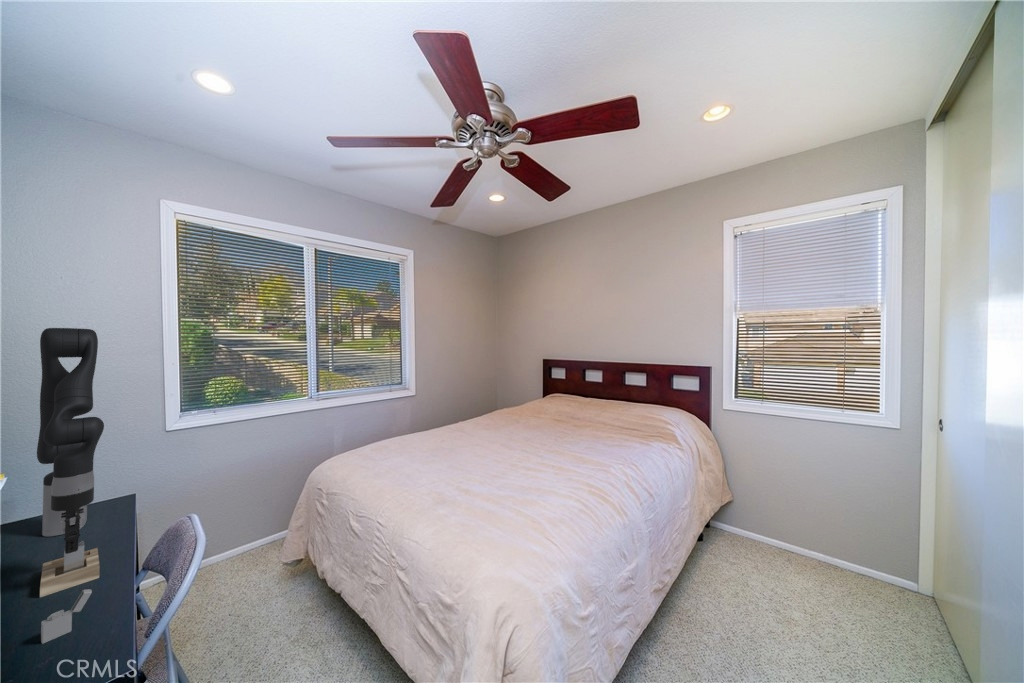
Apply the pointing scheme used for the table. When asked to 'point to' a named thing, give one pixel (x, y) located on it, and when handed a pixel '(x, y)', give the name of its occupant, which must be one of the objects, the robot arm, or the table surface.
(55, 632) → the lighter
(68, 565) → the grey rectangular block
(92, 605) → the table surface
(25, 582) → the table surface
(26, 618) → the table surface
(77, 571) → the holder
